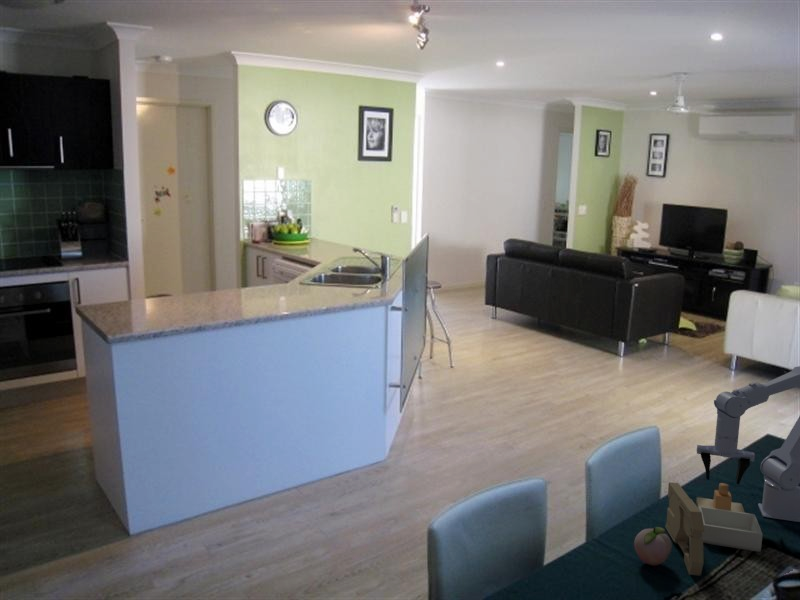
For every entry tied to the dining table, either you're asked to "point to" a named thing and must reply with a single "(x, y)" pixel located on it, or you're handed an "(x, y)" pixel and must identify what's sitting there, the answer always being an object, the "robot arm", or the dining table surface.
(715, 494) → the orange knobbed block
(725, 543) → the bin
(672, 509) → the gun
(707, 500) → the stud board
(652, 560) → the decorative fruit
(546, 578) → the dining table surface
